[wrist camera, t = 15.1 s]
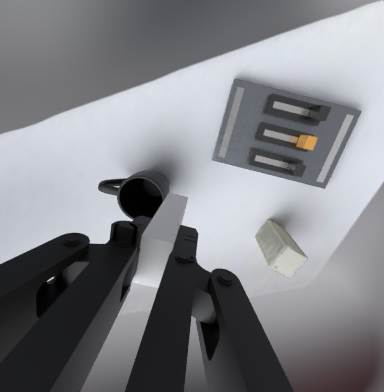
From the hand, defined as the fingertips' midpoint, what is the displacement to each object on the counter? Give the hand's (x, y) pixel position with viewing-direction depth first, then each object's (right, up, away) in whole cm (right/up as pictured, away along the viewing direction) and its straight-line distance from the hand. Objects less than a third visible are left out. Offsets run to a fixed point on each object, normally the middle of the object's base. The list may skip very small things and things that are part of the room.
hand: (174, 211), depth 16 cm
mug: (-8, +4, +28) cm, 29 cm away
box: (+18, -6, +29) cm, 34 cm away
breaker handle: (+20, +10, +19) cm, 30 cm away
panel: (+18, +12, +22) cm, 31 cm away
